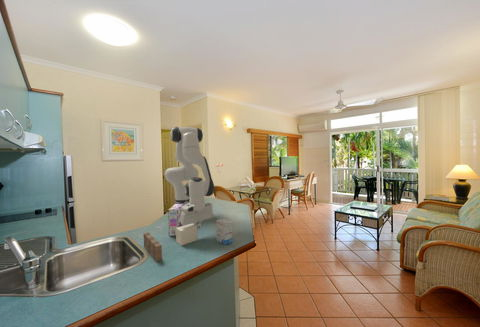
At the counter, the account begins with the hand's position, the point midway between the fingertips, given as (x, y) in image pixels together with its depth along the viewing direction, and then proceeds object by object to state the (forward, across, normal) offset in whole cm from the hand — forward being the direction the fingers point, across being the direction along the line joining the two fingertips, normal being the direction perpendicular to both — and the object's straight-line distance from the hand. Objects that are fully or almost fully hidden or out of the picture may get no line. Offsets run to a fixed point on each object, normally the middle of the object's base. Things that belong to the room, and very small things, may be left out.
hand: (197, 228), depth 114 cm
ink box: (+6, -8, +15) cm, 18 cm away
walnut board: (+5, +26, 0) cm, 26 cm away
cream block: (+5, +7, 0) cm, 9 cm away
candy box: (+5, +6, -16) cm, 18 cm away
